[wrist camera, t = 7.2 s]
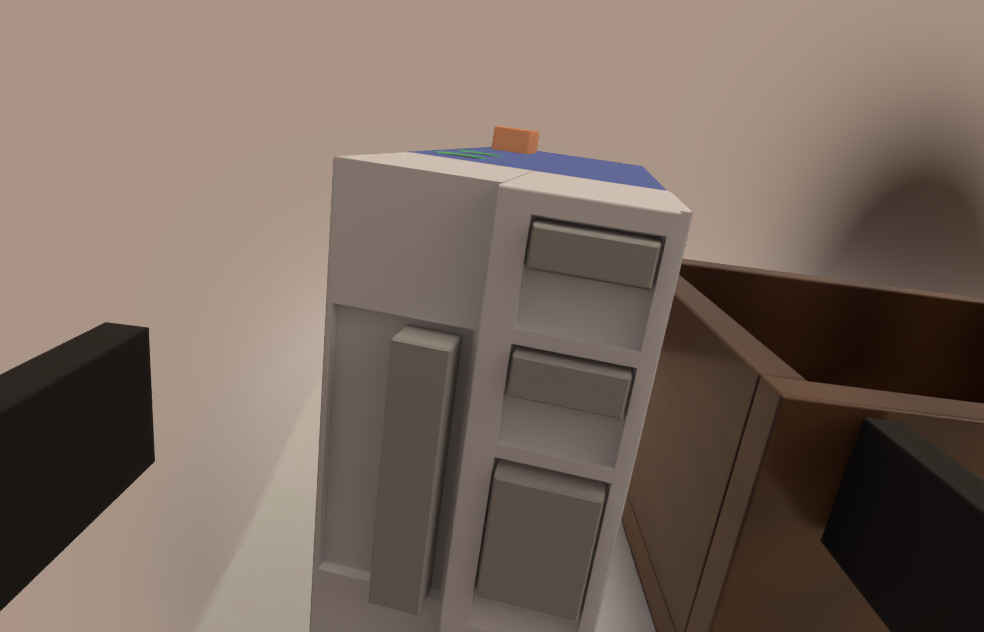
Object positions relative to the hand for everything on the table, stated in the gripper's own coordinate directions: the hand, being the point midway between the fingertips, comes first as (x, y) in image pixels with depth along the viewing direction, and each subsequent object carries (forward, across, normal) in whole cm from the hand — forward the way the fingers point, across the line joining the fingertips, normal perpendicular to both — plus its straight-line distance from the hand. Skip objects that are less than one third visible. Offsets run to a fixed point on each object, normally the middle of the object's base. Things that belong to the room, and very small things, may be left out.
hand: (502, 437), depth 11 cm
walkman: (-2, 0, -7) cm, 7 cm away
